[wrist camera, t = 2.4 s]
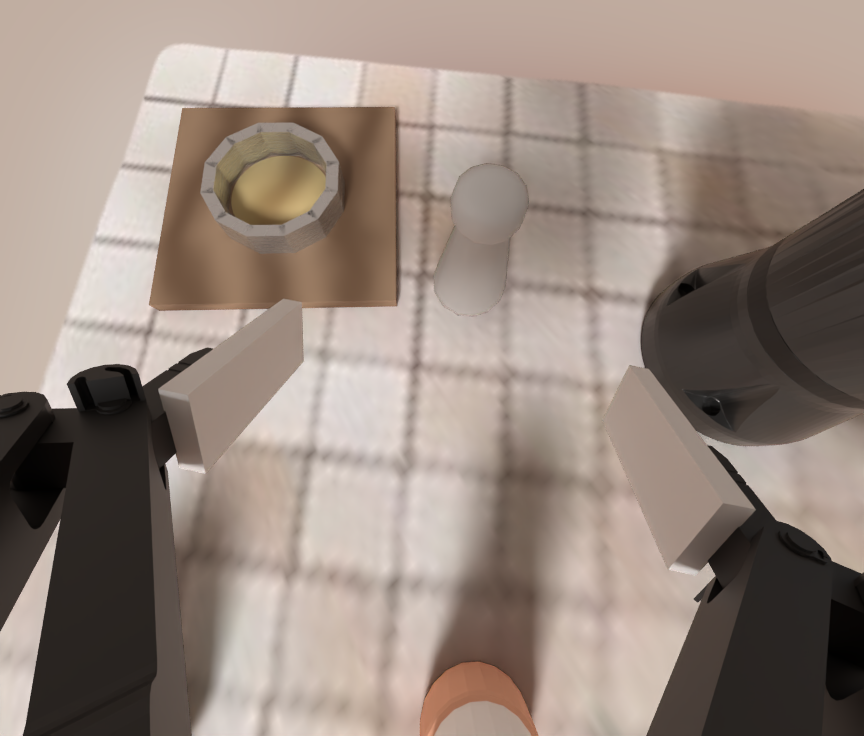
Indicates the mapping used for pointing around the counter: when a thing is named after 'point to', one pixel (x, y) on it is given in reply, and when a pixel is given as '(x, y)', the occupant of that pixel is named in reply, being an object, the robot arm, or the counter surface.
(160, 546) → the robot arm
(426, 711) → the pepper shaker
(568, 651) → the counter surface
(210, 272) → the collar board
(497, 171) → the salt shaker
